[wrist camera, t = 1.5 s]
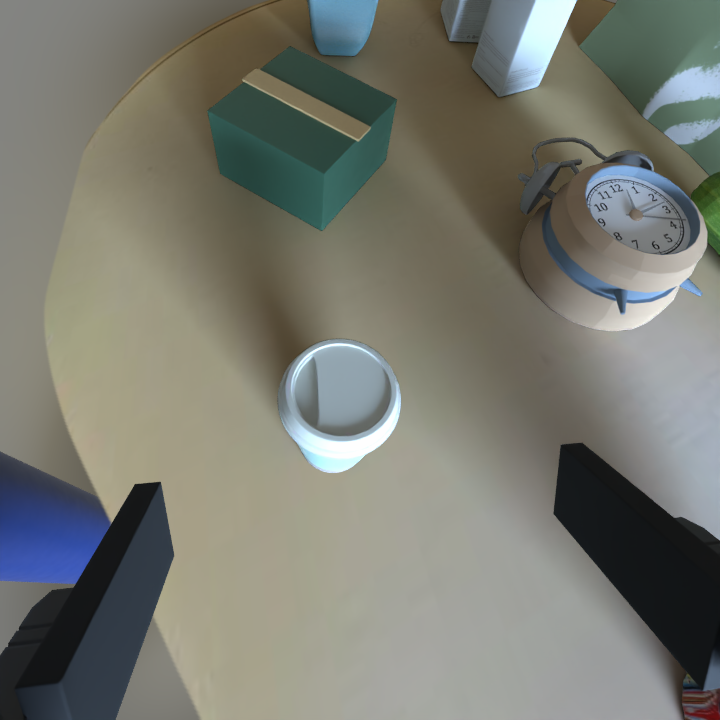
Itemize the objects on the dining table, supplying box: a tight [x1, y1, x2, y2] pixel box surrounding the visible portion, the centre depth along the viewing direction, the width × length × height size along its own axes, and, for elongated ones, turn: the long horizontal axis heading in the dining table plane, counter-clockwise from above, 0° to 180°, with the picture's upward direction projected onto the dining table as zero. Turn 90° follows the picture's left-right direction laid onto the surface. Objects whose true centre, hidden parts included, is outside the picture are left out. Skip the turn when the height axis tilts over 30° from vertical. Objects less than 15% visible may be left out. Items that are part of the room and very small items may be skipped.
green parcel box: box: [207, 46, 397, 231], centre depth 53 cm, size 14×14×8 cm
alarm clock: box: [518, 138, 707, 331], centre depth 51 cm, size 17×9×23 cm
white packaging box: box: [472, 0, 577, 97], centre depth 62 cm, size 7×7×13 cm
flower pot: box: [307, 0, 378, 56], centre depth 63 cm, size 9×9×9 cm
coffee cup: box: [278, 339, 401, 473], centre depth 37 cm, size 8×8×12 cm
